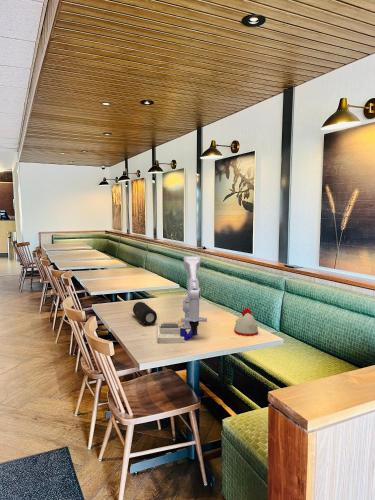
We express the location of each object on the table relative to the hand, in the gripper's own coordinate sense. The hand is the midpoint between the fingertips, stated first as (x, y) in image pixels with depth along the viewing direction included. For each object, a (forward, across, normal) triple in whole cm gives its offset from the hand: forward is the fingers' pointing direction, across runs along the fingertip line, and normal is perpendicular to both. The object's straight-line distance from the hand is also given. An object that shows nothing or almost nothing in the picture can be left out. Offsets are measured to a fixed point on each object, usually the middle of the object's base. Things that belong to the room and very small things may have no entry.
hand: (193, 334), depth 202 cm
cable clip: (+3, -2, +2) cm, 4 cm away
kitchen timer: (+3, +33, +9) cm, 34 cm away
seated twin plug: (+2, -13, +11) cm, 17 cm away
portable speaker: (+3, -28, +35) cm, 45 cm away
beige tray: (+2, -13, +4) cm, 14 cm away
